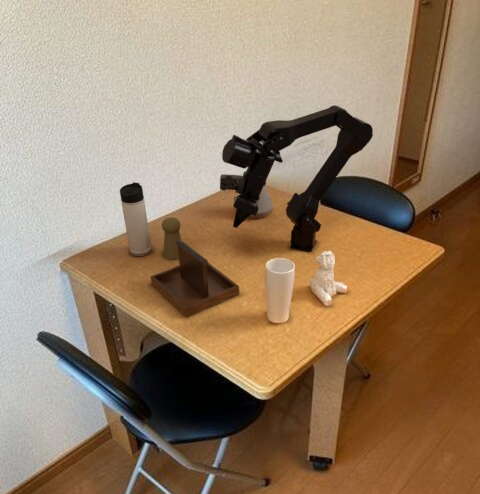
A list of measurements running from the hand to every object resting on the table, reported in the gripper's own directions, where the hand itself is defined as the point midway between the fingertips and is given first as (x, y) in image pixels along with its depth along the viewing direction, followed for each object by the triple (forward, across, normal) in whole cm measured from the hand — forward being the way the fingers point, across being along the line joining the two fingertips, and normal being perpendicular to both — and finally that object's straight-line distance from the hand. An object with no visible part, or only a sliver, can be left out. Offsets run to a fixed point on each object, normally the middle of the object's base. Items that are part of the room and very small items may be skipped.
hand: (234, 227), depth 135 cm
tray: (+16, +12, -4) cm, 21 cm away
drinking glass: (+10, +24, +16) cm, 30 cm away
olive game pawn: (+16, -6, -13) cm, 22 cm away
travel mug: (+20, -8, -22) cm, 31 cm away
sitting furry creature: (+4, +13, +27) cm, 31 cm away
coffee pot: (+4, -28, +5) cm, 28 cm away
